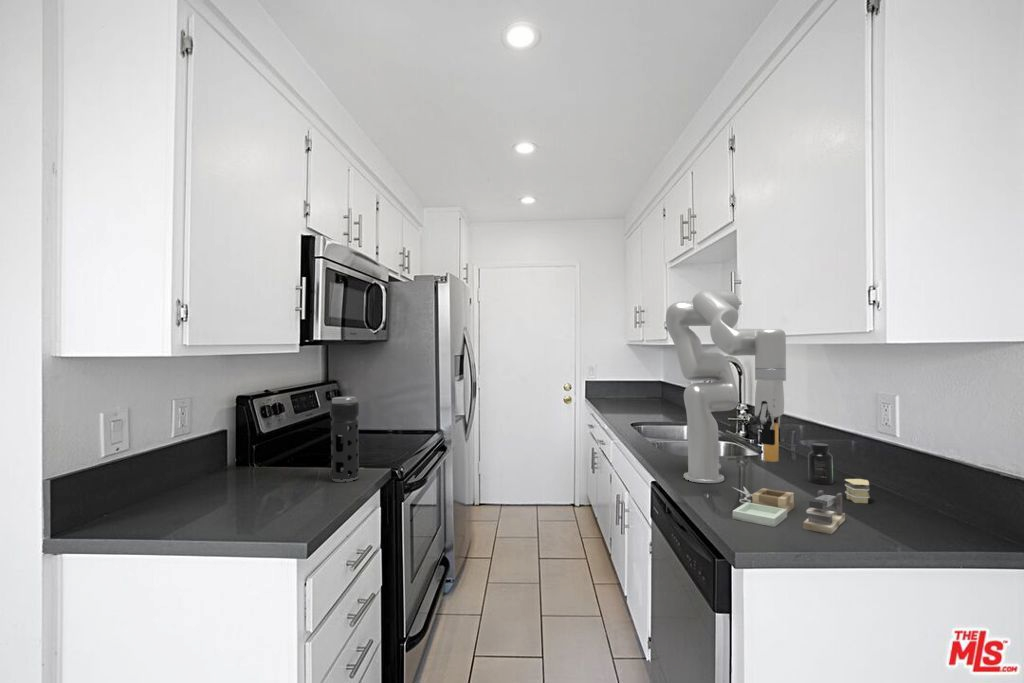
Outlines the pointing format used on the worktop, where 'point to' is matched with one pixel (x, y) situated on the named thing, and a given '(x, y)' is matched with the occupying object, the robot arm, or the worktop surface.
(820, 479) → the supplement bottle
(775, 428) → the plug
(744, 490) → the scissors
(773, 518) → the tray
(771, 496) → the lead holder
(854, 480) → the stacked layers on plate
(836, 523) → the base
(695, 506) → the worktop surface
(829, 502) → the lever
